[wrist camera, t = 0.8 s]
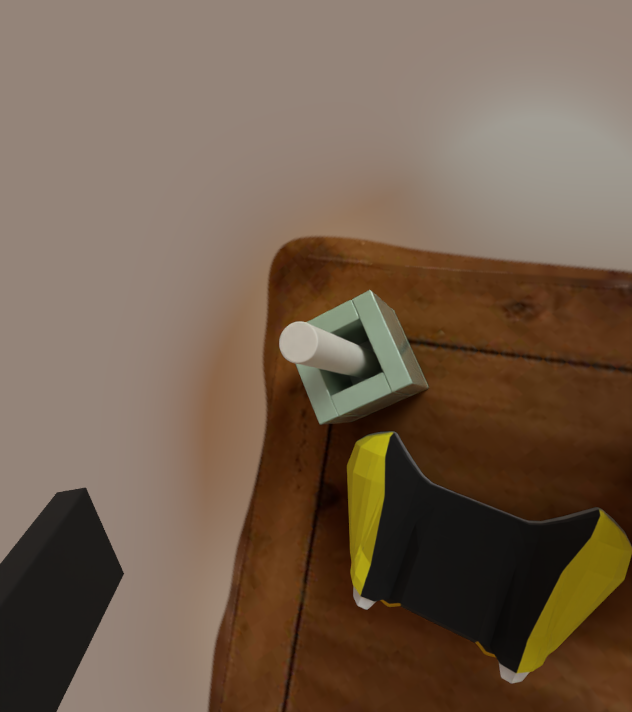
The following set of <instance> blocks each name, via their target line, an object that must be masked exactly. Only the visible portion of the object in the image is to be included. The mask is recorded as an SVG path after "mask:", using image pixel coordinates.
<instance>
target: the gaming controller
mask: <svg viewBox="0 0 632 712" xmlns="http://www.w3.org/2000/svg"><path fill="white" fill-rule="evenodd" d="M347 482H348V508H349V535H350V555H351V561H352V564H351V569H350V574H351V579H352V584H353V585H354V588H353V597H354V599H355V601H356V603H357V605H358V606H359V607H361V608H364V609H366V610H368V609H369V608H370V607H371V606H372V605H373V604H374V603H375V602H376V601H381V602H383V603H384V604H385V605H387V606H388V607H394V606H401V607H403V608H405V609H407V610H409V611H411V612H413V613H415V614H417V615H419V616H421V617H423V618H425V619H427V620H429V621H431V622H433V623H435V624H437V625H439V626H441V627H444V628H446V629H448V630H450V631H452V632H454V633H456V634H458V635H460V636H462V637H464V638H466V639H468V640H470V641H472V642H474V643H476V644H477V645H478V646H479V648H480V649H481V650H482V652H483V653H484V654H485V655H488V656H492V657H495V658H497V660H498V661H499V668H500V674H501V678H503V679H505V680H506V681H508V682H510V683H516V682H521V681H523V679H524V678H525V677H526V676H527V675H528V673H529V672H532V671H534V670H535V669H537V668H538V667H540V666H541V665H543V663H544V661H545V659H546V657H547V656H548V655H549V654H550V653H552V652H553V651H554V650H556V649H557V648H558V647H559V646H560V645H561V644H562V642H563V641H564V640H565V639H566V638H567V637H568V636H569V635H570V634H571V633H572V632H573V631H574V630H575V629H576V628H577V627H578V626H579V625H580V624H581V623H582V622H583V621H584V620H585V619H586V618H587V617H588V616H589V615H590V614H591V613H592V612H593V611H594V610H595V609H596V608H597V607H598V606H599V605H600V604H601V603H602V602H603V601H604V600H605V599H606V598H607V597H608V596H609V595H610V594H611V593H612V592H613V591H614V590H615V589H616V588H617V587H618V586H619V585H620V584H621V582H622V581H623V580H624V579H625V576H626V572H627V569H628V565H629V562H630V558H631V555H632V545H631V543H630V541H629V539H628V537H627V535H626V533H625V531H624V530H623V529H622V528H621V527H620V526H619V525H618V524H617V523H616V521H615V520H614V519H613V518H612V517H610V516H609V515H608V514H607V513H606V512H605V511H603V510H602V509H601V508H598V507H595V508H591V509H588V510H584V511H581V512H577V513H573V514H570V515H566V516H562V517H558V518H553V519H549V520H544V521H528V520H525V519H522V518H519V517H516V516H514V515H511V514H509V513H506V512H504V511H501V510H499V509H496V508H494V507H491V506H489V505H486V504H484V503H481V502H479V501H476V500H474V499H471V498H469V497H466V496H463V495H461V494H458V493H456V492H453V491H451V490H448V489H446V488H443V487H441V486H439V485H436V484H434V483H432V482H431V481H430V480H429V479H428V478H426V477H425V476H424V475H423V473H422V472H421V470H420V469H419V468H418V466H417V465H416V463H415V462H414V460H413V459H412V457H411V456H410V454H409V452H408V451H407V449H406V447H405V446H404V444H403V442H402V441H401V439H400V437H399V436H398V434H397V433H396V432H394V431H386V432H378V433H373V434H368V435H367V436H365V437H363V438H361V439H359V440H358V441H357V442H356V444H355V446H354V449H353V451H352V454H351V457H350V459H349V462H348V464H347Z"/></svg>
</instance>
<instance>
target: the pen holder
mask: <svg viewBox="0 0 632 712" xmlns="http://www.w3.org/2000/svg"><path fill="white" fill-rule="evenodd" d="M306 323H308V324H311V325H313V326H315V327H317V328H320V329H322V330H324V331H327V332H329V333H331V334H334V335H336V336H338V337H340V338H343V339H345V340H347V341H350V342H352V343H354V344H357V345H359V346H361V347H363V348H366V349H368V350H370V351H373V352H375V354H376V357H377V359H378V361H379V364H380V366H381V367H380V370H379V372H378V374H377V375H375V376H373V377H371V378H369V379H364V378H360V377H355V376H351V375H346V374H341V373H337V372H332V371H328V370H323V369H319V368H314V367H310V366H305V365H301V364H296V363H295V364H296V367H297V369H298V372H299V374H300V377H301V379H302V382H303V384H304V387H305V389H306V392H307V394H308V397H309V399H310V402H311V404H312V407H313V409H314V412H315V414H316V417H317V419H318V422H319V424H332V423H346V422H353V421H356V420H358V419H360V418H363V417H365V416H367V415H369V414H372V413H374V412H376V411H378V410H381V409H383V408H385V407H388V406H390V405H392V404H394V403H397V402H399V401H401V400H403V399H406V398H408V397H410V396H413V395H415V394H417V393H419V392H422V391H424V390H426V389H429V386H428V383H427V381H426V379H425V377H424V375H423V372H422V370H421V368H420V366H419V364H418V362H417V359H416V357H415V355H414V353H413V351H412V348H411V346H410V344H409V342H408V340H407V337H406V335H405V333H404V331H403V329H402V326H401V324H400V322H399V320H398V318H397V315H396V313H395V311H394V310H393V309H392V308H390V307H389V306H388V305H387V304H386V303H385V302H384V301H382V300H381V299H380V298H379V297H378V296H377V295H376V294H374V293H373V292H372V291H371V290H369V291H367V292H365V293H363V294H361V295H359V296H357V297H355V298H353V299H352V300H349V301H347V302H345V303H343V304H341V305H339V306H337V307H335V308H333V309H331V310H329V311H328V312H326V313H324V314H322V315H320V316H318V317H316V318H314V319H312V320H310V321H308V322H306Z"/></svg>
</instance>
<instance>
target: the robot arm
mask: <svg viewBox="0 0 632 712" xmlns="http://www.w3.org/2000/svg"><path fill="white" fill-rule="evenodd" d="M123 574H124V573H123V571H122V568H121V566H120V564H119V561H118V559H117V557H116V555H115V552H114V550H113V548H112V546H111V543H110V541H109V539H108V537H107V534H106V532H105V530H104V528H103V525H102V523H101V521H100V519H99V516H98V514H97V512H96V510H95V507H94V505H93V503H92V500H91V498H90V496H89V494H88V492H87V489H86V488H81V489H75V490H69V491H63V492H58V493H56V494H55V496H54V497H53V498H52V500H51V501H50V502H49V503H48V505H47V506H46V507H45V508H44V510H43V511H42V512H41V513H40V515H39V516H38V517H37V518H36V520H35V521H34V522H33V523H32V525H31V526H30V527H29V528H28V530H27V531H26V532H25V534H24V535H23V536H22V537H21V538H20V540H19V541H18V542H17V544H16V545H15V546H14V547H13V549H12V550H11V551H10V552H9V554H8V555H7V556H6V557H5V559H4V560H3V561H2V563H1V564H0V712H56V711H57V709H58V707H59V705H60V703H61V701H62V699H63V697H64V695H65V693H66V691H67V689H68V687H69V685H70V683H71V681H72V678H73V677H74V674H75V672H76V670H77V668H78V666H79V664H80V662H81V660H82V658H83V656H84V654H85V652H86V650H87V648H88V646H89V644H90V642H91V640H92V638H93V636H94V634H95V632H96V630H97V627H98V626H99V623H100V622H101V619H102V617H103V615H104V613H105V611H106V609H107V607H108V605H109V603H110V601H111V599H112V597H113V595H114V593H115V591H116V589H117V587H118V585H119V583H120V581H121V579H122V576H123Z"/></svg>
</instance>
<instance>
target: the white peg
mask: <svg viewBox="0 0 632 712" xmlns="http://www.w3.org/2000/svg"><path fill="white" fill-rule="evenodd" d="M279 347H280V351H281V353H282V355H283V356H284V357H285V358H286V359H287V360H288V361H290V362H292V363H296V364H301V365H305V366H310V367H314V368H319V369H323V370H328V371H332V372H337V373H341V374H346V375H351V376H355V377H360V378H364V379H369V378H371V377H373V376H375V375H377V374H378V372H379V370H380V367H381V366H380V364H379V361H378V359H377V357H376V354H375V352H373V351H370V350H368V349H366V348H363V347H361V346H359V345H357V344H354V343H352V342H350V341H347V340H345V339H343V338H340V337H338V336H336V335H334V334H331V333H329V332H327V331H324V330H322V329H320V328H317V327H315V326H313V325H311V324H308V323H306V322H294V323H291V324H290V325H288V326H287V327H286V328H285V329H284V330H283V332H282V334H281V336H280V340H279Z"/></svg>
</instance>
